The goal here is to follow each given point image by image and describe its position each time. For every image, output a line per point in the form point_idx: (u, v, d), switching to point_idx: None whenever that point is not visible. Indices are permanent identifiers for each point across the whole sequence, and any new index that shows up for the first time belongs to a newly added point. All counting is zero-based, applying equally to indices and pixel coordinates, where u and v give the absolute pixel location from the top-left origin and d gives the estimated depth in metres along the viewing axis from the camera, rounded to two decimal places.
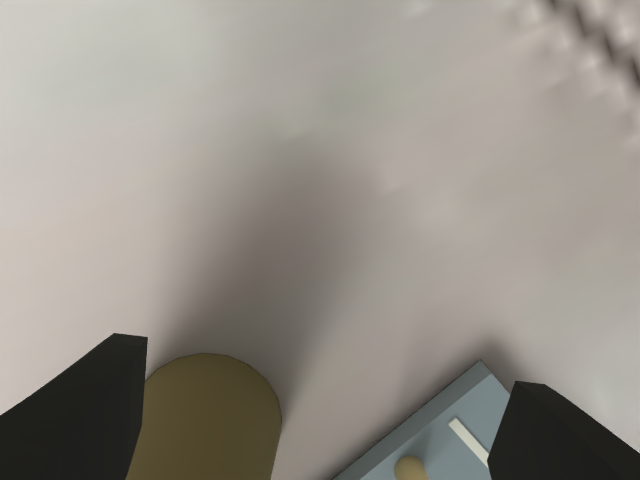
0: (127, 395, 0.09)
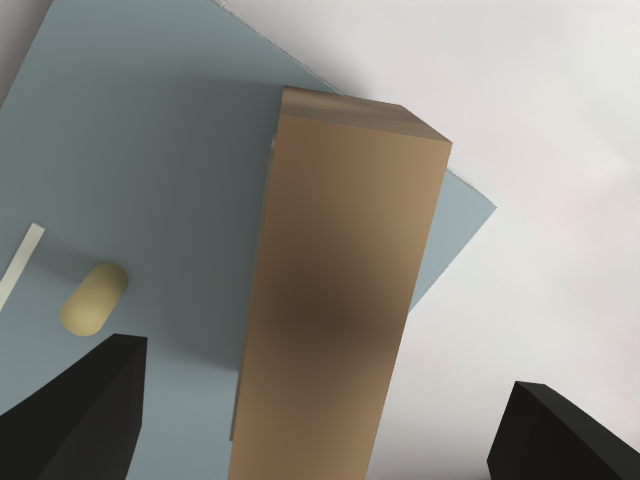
0: (127, 395, 0.09)
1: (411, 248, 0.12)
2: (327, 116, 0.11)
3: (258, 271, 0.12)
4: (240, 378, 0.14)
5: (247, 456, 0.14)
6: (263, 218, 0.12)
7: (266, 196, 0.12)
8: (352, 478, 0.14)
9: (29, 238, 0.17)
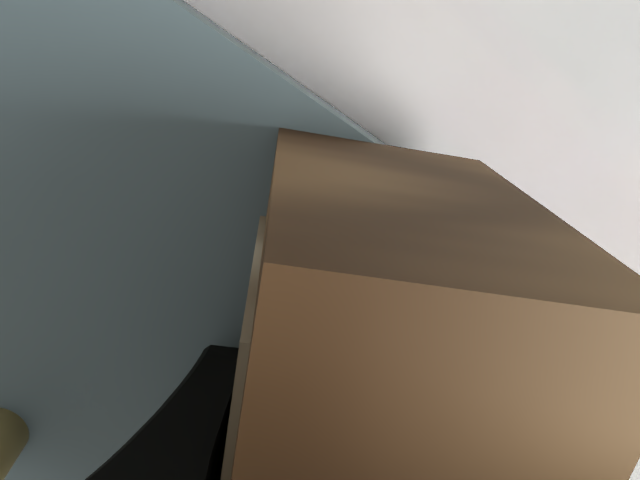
0: None
1: None
2: (380, 243, 0.05)
3: None
4: None
5: None
6: (231, 450, 0.05)
7: (237, 409, 0.05)
8: None
9: None
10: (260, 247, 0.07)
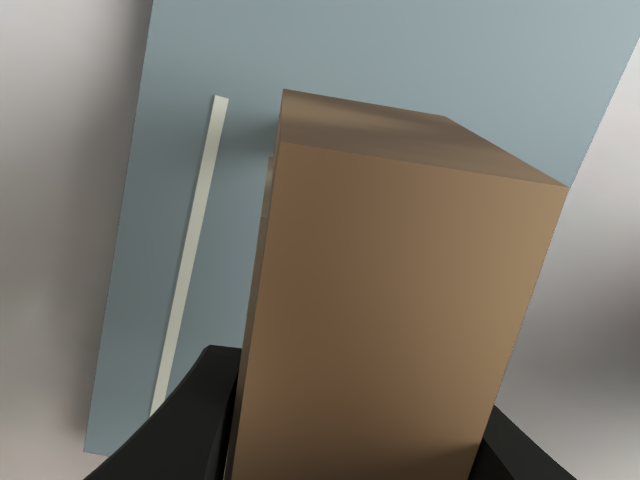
0: (232, 406, 0.09)
1: (491, 351, 0.07)
2: (357, 142, 0.07)
3: (246, 390, 0.07)
4: None
5: None
6: (254, 300, 0.08)
7: (258, 267, 0.07)
8: None
9: (215, 113, 0.16)
10: (270, 173, 0.09)
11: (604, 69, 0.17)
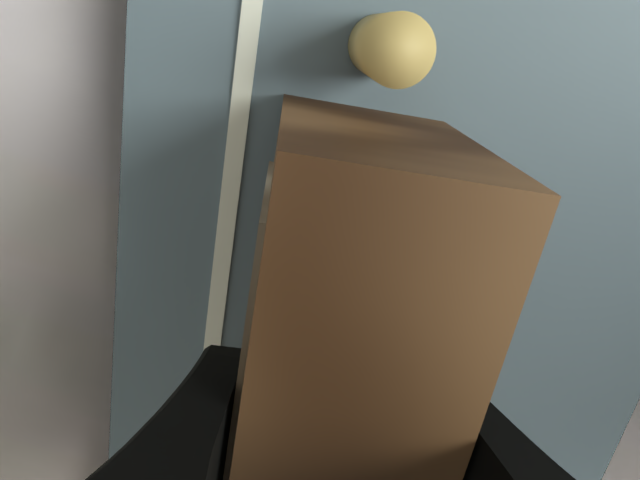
0: None
1: (484, 356, 0.07)
2: (354, 150, 0.07)
3: (243, 392, 0.07)
4: None
5: None
6: (252, 304, 0.08)
7: (256, 272, 0.08)
8: None
9: (246, 21, 0.11)
10: (270, 178, 0.10)
11: None
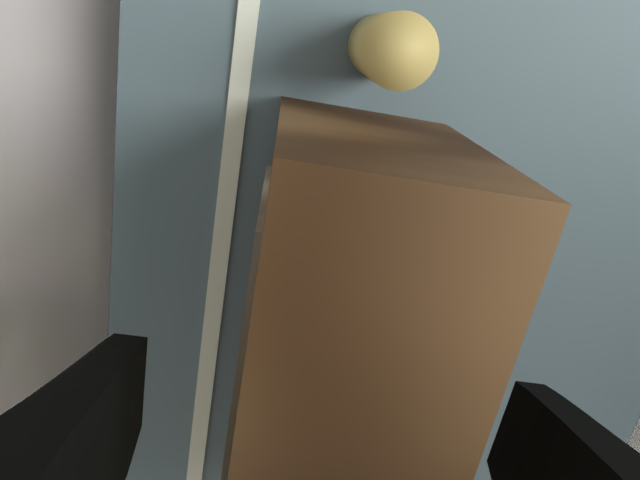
0: (127, 395, 0.09)
1: (490, 371, 0.07)
2: (354, 156, 0.07)
3: (239, 408, 0.07)
4: None
5: None
6: (248, 316, 0.08)
7: (253, 283, 0.07)
8: None
9: (242, 22, 0.10)
10: (268, 183, 0.09)
11: None
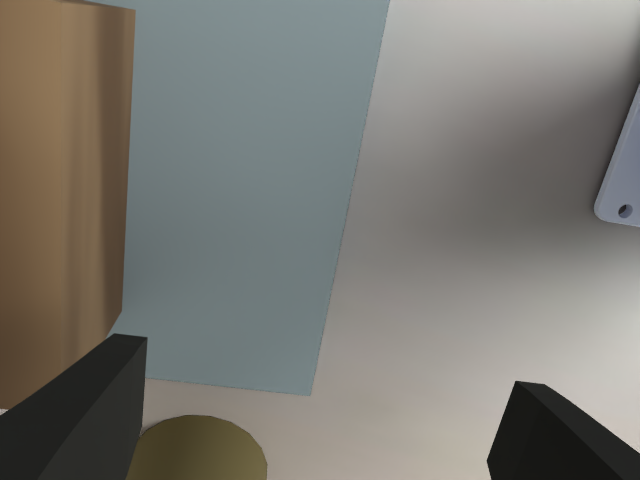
0: (127, 395, 0.09)
1: (46, 121, 0.11)
2: None
3: None
4: None
5: None
6: None
7: None
8: (47, 378, 0.14)
9: None
10: None
11: None
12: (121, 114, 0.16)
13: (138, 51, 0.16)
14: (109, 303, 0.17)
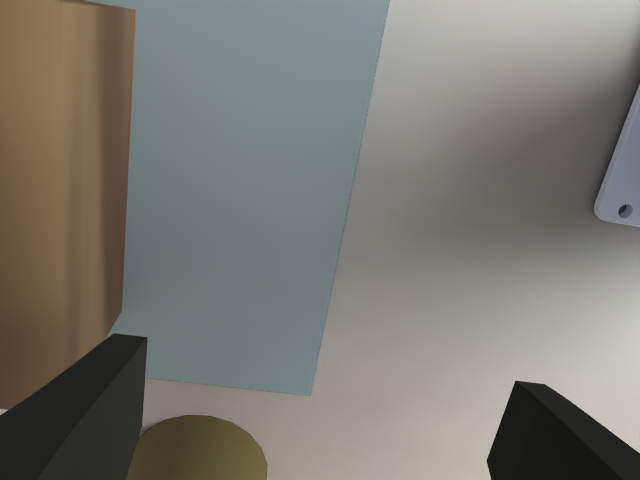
0: (127, 395, 0.09)
1: (46, 121, 0.11)
2: None
3: None
4: None
5: None
6: None
7: None
8: (47, 378, 0.14)
9: None
10: None
11: None
12: (121, 114, 0.16)
13: (138, 51, 0.16)
14: (109, 303, 0.17)
